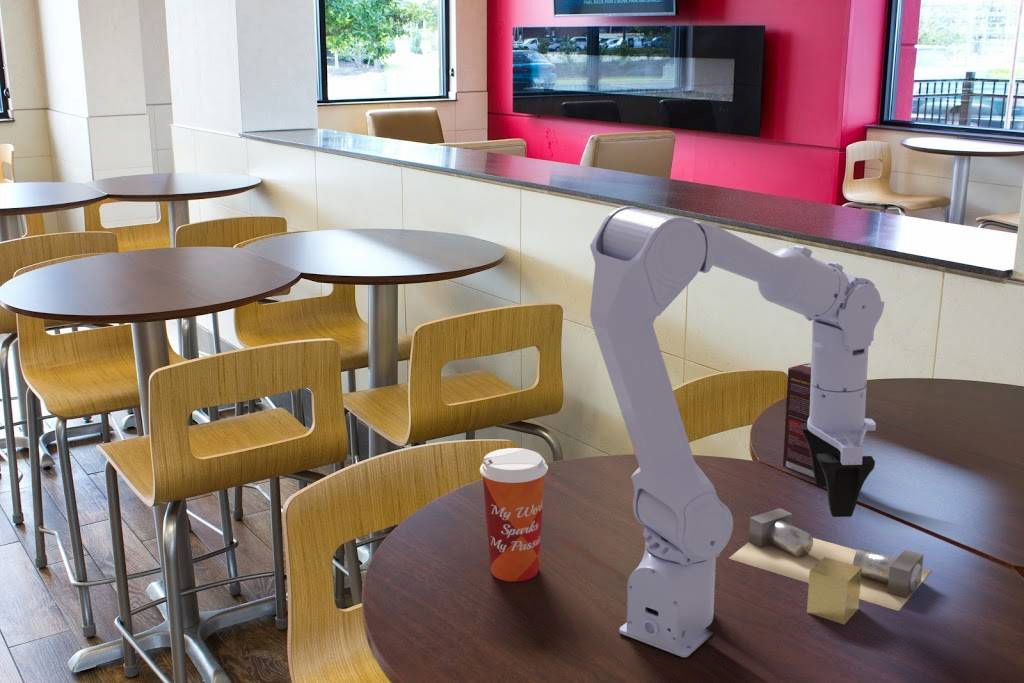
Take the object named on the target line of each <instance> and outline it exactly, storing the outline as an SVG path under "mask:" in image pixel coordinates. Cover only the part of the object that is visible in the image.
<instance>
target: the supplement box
mask: <svg viewBox="0 0 1024 683" xmlns="http://www.w3.org/2000/svg"><path fill="white" fill-rule="evenodd" d="M786 384H787V385H786V401H785V403H786V404H785V420H784V421H785V424H784V437H783V458H782V467H784V468H786V469H788V470H792V471H794V472H796V473H799V474H801V475H803V476H807V477H809V478H811V479H814V480H815V478H814V473H813V467H812V461H811V455H810V451H809V447H808V444H807V441H806V438H805V436H804V433H803V431H802V429H801V427H800V425H801V424H803V423H807V421H808V418H809V416H810V386H811V362H809V363H803V364H799V365H794V366H791V367H788V370H787V383H786Z"/></svg>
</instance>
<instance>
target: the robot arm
mask: <svg viewBox="0 0 1024 683" xmlns="http://www.w3.org/2000/svg"><path fill="white" fill-rule="evenodd" d="M589 247H590V250H591V251H590V252H591V254H592V257H593V261H594V274H593V283H592V293H591V301H590V309H589V310H590V314H589V315H590V316H589V317H590V322H591V325H592V329H593V331H594V334H595V336H596V341H597V343H598V346H599V349H600V352H601V355H602V358H603V361H604V364H605V367H606V371H607V373H608V376H609V379H610V382H611V386H612V389H613V391H614V394H615V398H616V400H617V403H618V407H619V410H620V413H621V415H622V419H623V421H624V424H625V428H626V430H627V434H628V436H629V439H630V442H631V445H632V448H633V451H634V454H635V458H636V460H637V463H638V466H639V467H637V469H636V470H635V471H634V472H633V473H632V474H631V475H630V476H631V477H630V478H631V482H632V485H633V491H634V492H633V493H634V494H633V499H632V500H633V501H632V510H633V511H632V512H633V514H634V516H635V518H636V520H637V521H638V522H639V523H640V524H641V525H643V531H642V532H643V536H642V537H644V539H645V540H644V541H645V544H644V545H645V546H644V552H643V556H642V559H641V561H640V563H639V565H638V566H637V567H636V568H635V569H634V570H633V571H632V573H631V574H630V576H629V577H628V580H627V585H626V586H627V588H626V589H627V593H626V595H627V596H626V600H627V601H626V622H625V623H623V625H621V626H620V627H619V630H618V631H619V633H620V634H621V635H623V636H627V637H629V638H631V639H634V640H637V641H639V642H642V643H644V644H647V645H650V646H653V647H655V648H658V649H660V650H663V651H666V652H668V653H670V654H672V655H675V656H679V657H680V658H687V657H689V656H690V655H692V653H693V652H695V651H696V650H697V649H698V648H699V647H701V645H703V644H704V643H705V642H706V641H707V640H708V639H709V638H711V636H713V635H714V633H713V632H712V631H711V630H709V629H707V628H708V627H709V626H710V625H711V624H712V623H713V620H714V612H715V611H714V610H715V609H714V608H715V586H716V585H715V584H716V562H717V558H718V557H720V553H722V551H723V550H724V549H725V548H726V547H727V545H728V543H729V541H730V539H731V537H732V534H733V529H734V520H733V516H732V515H733V514H732V512H731V510H730V509H729V508H728V506H727V505H726V504H725V503H723V501H721V500H720V499H719V497H718V495H717V491H716V489H715V486H714V484H713V483H712V482H711V481H710V479H709V478H708V476H706V474H705V473H704V472H703V470H702V469H701V467H700V466H699V465H698V464H697V463H696V461H695V459H694V455H693V451H692V449H691V445H690V443H689V442H690V441H689V439H688V436H687V433H686V429H685V426H684V423H683V420H682V417H681V413H680V410H679V406H678V403H677V400H676V397H675V393H674V390H673V387H672V382H671V380H670V377H669V374H668V370H667V366H666V364H665V361H664V360H665V359H664V357H663V353H662V349H661V347H660V344H659V341H658V338H657V334H656V331H655V327H654V322H655V320H656V319H657V317H658V316H661V315H662V313H663V312H664V311H665V310H666V309H667V308H668V307H669V306H670V304H672V303H673V301H674V300H676V298H678V296H679V295H680V293H682V292H683V291H684V290H685V288H686V287H687V286H689V284H690V283H691V282H692V280H694V278H696V276H697V275H698V273H699V272H700V273H703V274H706V273H709V272H710V271H711V269H712V268H713V267H715V268H719V269H721V270H724V271H726V272H729V273H732V274H734V275H736V276H739V277H743V278H745V279H747V280H750V281H752V282H756V283H757V288H758V291H759V293H760V295H761V297H762V298H763V299H765V301H768V302H770V303H773V304H775V305H777V306H780V307H782V308H785V309H787V310H790V311H793V312H794V313H797V314H799V315H802V316H804V318H805V319H806V320H807V321H812V331H811V332H812V334H811V335H812V338H811V362H810V363H811V386H810V416H809V418H808V421H807V423H803V424H801V425H800V427H801V429H802V431H803V433H804V436H805V438H806V441H807V444H808V447H809V451H810V455H811V461H812V467H813V473H814V478H815V479H814V478H813V479H814V482H815V485H816V487H817V488H826V489H827V490H826V491H827V499H828V507H829V511H830V515H831V516H832V517H833V518H836V517H837V518H850V517H852V516H853V514H854V512H855V509H856V505H857V503H858V499H859V496H860V492H861V491H862V488H863V485H864V484H865V482H866V480H867V478H868V477H869V475H870V473H872V471H873V470H874V469H875V465H876V460H875V459H874V457H873V456H872V455H867V456H866V455H864V454H863V452H864V447H863V441H864V439H865V437H866V436H865V435H866V433H867V432H869V431H872V432H873V431H876V429H877V423H876V422H875V421H874V419H872V418H868V417H867V418H866V399H867V398H866V397H867V384H868V383H867V382H868V381H867V380H868V363H869V361H868V360H869V347H870V346H871V344H872V342H873V341H874V335H875V334H874V333H875V329H876V326H877V325H878V323H879V321H880V319H881V317H882V315H883V312H884V308H885V301H882V299H881V294H880V292H879V290H878V289H877V288H876V285H875V283H874V282H872V281H871V280H870V279H868V278H864V277H861V276H855V275H852V274H847V273H845V272H844V271H843V270H844V267H843V265H841V264H839V263H836V262H832V261H830V262H828V263H825V262H823V261H821V260H818V259H817V258H814V257H812V254H813V251H812V249H810V248H807V247H805V246H801V245H797V244H795V245H794V246H793V248H792V247H782V248H778V249H776V250H775V251H772V252H770V251H767V250H766V249H764V248H762V247H761V246H760V247H759V245H755V244H753V243H751V242H749V240H748V241H747V240H746V239H745V238H744V239H743V237H739V236H738V235H735V234H733V233H732V232H730V231H728V230H726V229H724V228H721V227H720V226H717V225H715V224H712V223H711V224H709V223H705V222H701V221H696V220H692V219H691V218H689V217H684V216H672V215H667V214H664V213H658V212H652V211H649V210H644V209H642V208H639V207H636V206H633V205H625V206H621V207H618V208H615V209H614V210H613V211H611V212H610V213H609V214H608V215H607V216H606V217H605V218H604V220H603V222H602V223H601V225H600V227H599V228H598V230H597V232H596V234H595V236H594V238H593V239H592V242H590V244H589Z"/></svg>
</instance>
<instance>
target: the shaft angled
mask: <svg viewBox="0 0 1024 683" xmlns="http://www.w3.org/2000/svg"><path fill="white" fill-rule="evenodd" d="M813 538H814V537H813V536H812V534H811V533H809V532H807V531H804V530H802V529H801V528H798V527H796V526H794V525H790V524H788V523H786V522H784V521H782V520H777V521H775V522H773V523H772V525H771V526H770V528H769V530H768V540H769V542H770V543H772V544H774V545H776V546H778V547H780V548H782V549H784V550H786V551H787V552H789V553H791V554H793V555H795V556H797V557H799V558H802V557H805V556H806V555H807V554H808V553H809V552H810V551H811V549H812V546H813Z"/></svg>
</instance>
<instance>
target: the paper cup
mask: <svg viewBox="0 0 1024 683" xmlns="http://www.w3.org/2000/svg"><path fill="white" fill-rule="evenodd" d="M548 469H549V466H548V464H547V463H546V460H545V459H544V458H543V457H542V454H540V453H538V452H537V451H534V450H531V449H527V448H517V447H509V448H500V449H496V450H494V451H493V450H492V451H490V452H488V453H487V454H486V455H484V457H483V460H482V464H481V465H480V467H479V472H480V475H481V476H482V481H483V494H484V509H485V510H484V511H485V522H486V532H487V533H486V534H487V543H488V554H489V564H490V572H491V575H492V576H493V577H494V578H496V579H498V580H500V581H503V582H510V583H518V582H525V581H528V580H531V579H533V578H535V577H536V576H537V575H538V572H539V569H540V568H539V567H540V559H541V558H540V555H541V544H542V542H541V539H542V524H543V506H544V490H545V488H544V485H545V475H546V474H547V472H548Z"/></svg>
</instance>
